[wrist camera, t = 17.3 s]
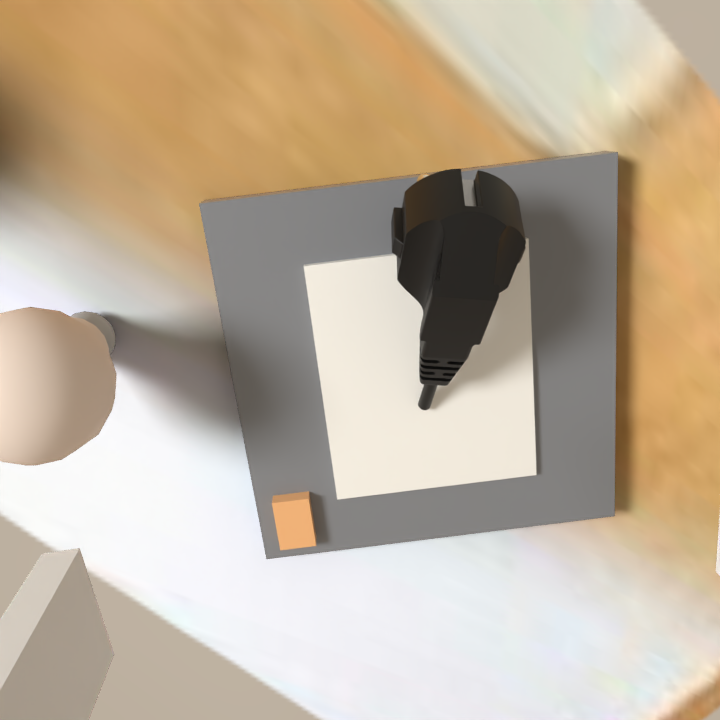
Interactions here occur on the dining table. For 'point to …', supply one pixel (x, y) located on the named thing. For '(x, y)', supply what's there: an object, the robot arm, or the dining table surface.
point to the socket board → (401, 365)
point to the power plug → (455, 263)
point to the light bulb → (53, 383)
